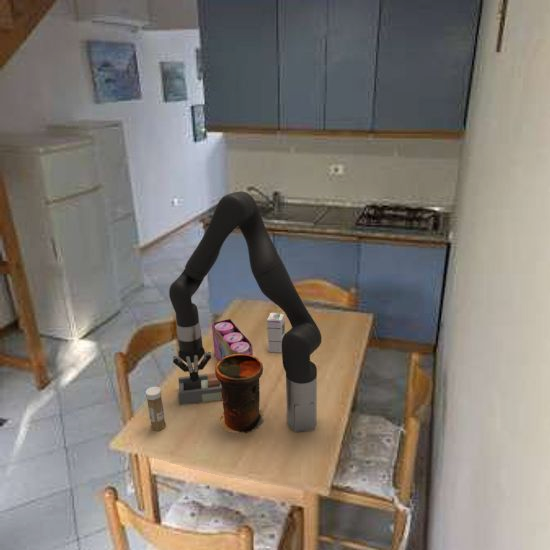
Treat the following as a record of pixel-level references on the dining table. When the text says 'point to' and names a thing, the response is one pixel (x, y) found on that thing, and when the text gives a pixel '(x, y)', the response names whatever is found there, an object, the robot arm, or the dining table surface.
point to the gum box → (229, 340)
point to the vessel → (240, 392)
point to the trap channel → (197, 390)
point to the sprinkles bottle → (155, 408)
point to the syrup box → (275, 331)
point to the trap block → (213, 380)
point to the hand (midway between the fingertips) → (194, 380)
